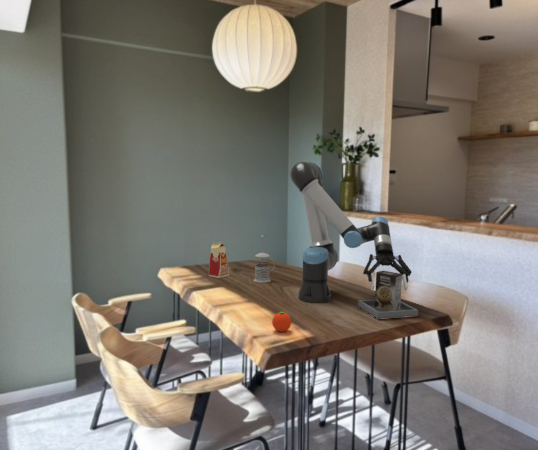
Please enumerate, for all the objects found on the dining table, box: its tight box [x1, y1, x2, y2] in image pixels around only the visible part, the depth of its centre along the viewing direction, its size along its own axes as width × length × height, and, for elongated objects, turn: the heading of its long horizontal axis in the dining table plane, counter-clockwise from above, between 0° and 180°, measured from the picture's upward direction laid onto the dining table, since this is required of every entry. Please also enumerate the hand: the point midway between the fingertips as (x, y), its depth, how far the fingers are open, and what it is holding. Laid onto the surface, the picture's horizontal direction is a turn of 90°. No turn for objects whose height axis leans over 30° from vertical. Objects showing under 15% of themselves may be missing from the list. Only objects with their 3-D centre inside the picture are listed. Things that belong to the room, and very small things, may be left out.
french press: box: [253, 235, 276, 283], centre depth 236 cm, size 10×12×25 cm
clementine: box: [271, 311, 292, 333], centre depth 158 cm, size 8×7×7 cm
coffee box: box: [374, 270, 403, 312], centre depth 182 cm, size 9×6×16 cm
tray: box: [357, 299, 419, 320], centre depth 183 cm, size 18×18×3 cm
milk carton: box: [208, 241, 230, 279], centre depth 246 cm, size 9×9×20 cm
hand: (389, 288), depth 181 cm, fingers open, 13 cm apart
